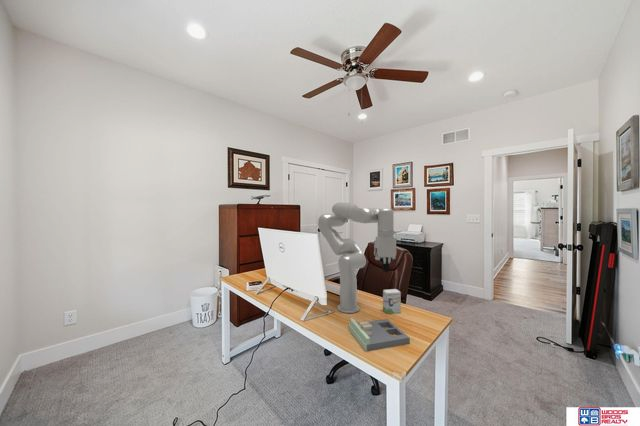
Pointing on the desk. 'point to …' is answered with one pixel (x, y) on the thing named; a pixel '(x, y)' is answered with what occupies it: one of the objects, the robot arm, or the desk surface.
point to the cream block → (366, 327)
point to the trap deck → (378, 335)
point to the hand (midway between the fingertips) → (385, 271)
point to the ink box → (391, 301)
